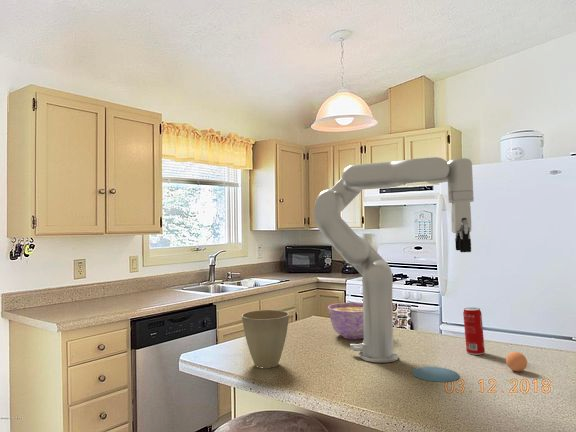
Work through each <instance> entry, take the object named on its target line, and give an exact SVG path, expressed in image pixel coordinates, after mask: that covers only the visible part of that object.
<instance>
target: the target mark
mask: <svg viewBox="0 0 576 432" xmlns="http://www.w3.org/2000/svg"><path fill="white" fill-rule="evenodd" d="M411 372H412V375H413V376H414V377H416V378H417V379H421V380H424V381H428V382H435V383H448V382H455V381H458V379H459V378H460V374H459V373H458V372H456V371H455V370H452V369H449V368H445V367H439V366H420V367H417V368H414V369H413V370H412V371H411Z"/></svg>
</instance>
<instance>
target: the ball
mask: <svg viewBox="0 0 576 432" xmlns="http://www.w3.org/2000/svg"><path fill="white" fill-rule="evenodd" d="M505 363H506V365H507V367H508V368H509V369H510V370H512V371H514V372H523V371H524V370H525V369H526V368H527V366H528V360H527V357H526V356H525V355H524V354H523V353H521V352H519V351H511V352H509V353H508V354H507V355H506V357H505Z"/></svg>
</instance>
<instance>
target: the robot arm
mask: <svg viewBox="0 0 576 432" xmlns="http://www.w3.org/2000/svg"><path fill="white" fill-rule="evenodd" d="M473 179H474V178H473V162H472V161H471V159H470V158H465V157H464V158H463V157H462V158H453V159H450V160H449V161H447V160H446V159H445V158H442V157H439V156H438V157H436V156H435V157H432V156H431V157H419V158H410V159H404V160H392V161H383V162H382V161H380V162H371V163H357V164H350V165H348V166H347V167H345V168H344V169H343V170H342V174H341V177H340V179H339V180H338V181H337V182H336V183H335V184H334V185H333V186H332V187H331V188H328V189H324V190H323V191H321V192H319V194H318V195H317V197H316V199H315V202H314V205H313V211H312V213H313V218H314V223H315V225H316V227H317V229H318V230H319V232H320V233H321V234H322V236H323V237H324V238H325V239H326V240H327V241H328V243H330V245H331V246H332V247H333V248H334V249H335V251H336V252H337V253H338V254H339V255H340V256H341V257H342V259H343V260H344V261H345V263H347V264H349V265H351V266H352V267H353V268H354V269H355V270H356V271H357V272H358V273H359V275H360V276H361V277H362V280H361V281H362V303H363V329H364V338H363V340H362V343H361V342H360V343H358V344H357V343H350V344H349V349H350V350H353V352H359V353H358V356H359V358H360V359H361V360H363V361H366V362H371V363H377V364H378V363H379V364H381V363H392V362H395V361H397V360H398V359H399V354H398V353H397V352H396V351H394V317H393V315H394V313H393V312H394V311H393V283H394V282H393V280H394V279H393V272H392V269H391V266H390V265H389V263H388V262H387V261H386V260H385V259H384V258H383V256H381V255H380V254H379V252H377V250H376V249H374V248H373V247H372V245H370V243H369V242H368V241H367V240H366V239H364V238H363V237H361V236H359V235H358V234H357V233H356V232H355V231H354V230H353V229H352V228H351V227H350V226H349V224H348V223H347V222H346V221H345V220H344V219H343V218H342V216H341V214H340V213H341V212H342V211H344V209H346V208H347V206H349V204H351V202H352V201H353V200H355V198H356V197H357V196H358V195H359V194H360V193H361V192H362V191H363V190H373V189H388V188H389V189H391V188H396V187H400V186H403V185H407V184H414V183H415V184H416V183H428V184H431V185H435V184H440V183H447V194H448V195H447V197H448V198H447V199H448V203H451V209H450V210H451V232H452V233H454V234H455V238H454V240H455V241H454V242H455V250H456V251H459V252H460V253H472V241H471V239H472V238H471V234H470V233H471V232H472V211H471V209H472V208H471V202H474V201H475V199H474V184H473V183H474V181H473Z"/></svg>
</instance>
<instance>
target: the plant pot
mask: <svg viewBox="0 0 576 432" xmlns="http://www.w3.org/2000/svg"><path fill="white" fill-rule="evenodd" d="M289 318H290V313H289V312H288V311H284V310H278V309H260V310H251V311H247V312H244V313H242V314H241V319H242V326H243V332H244V337H245V340H246V343H247V348H248V350H249V353H250V356H251V359H252V361H253V364H254V366H255V367H256V366H258V367H263V368H262V369H270V368H269V367H273V368H275V366H276V367H277V366H279V363H280V360H281V357H282V354H283V350H284V348H285V342H286V338H287V333H288V332H287V331H288V326H289V320H290V319H289ZM258 367H257V368H258Z"/></svg>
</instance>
